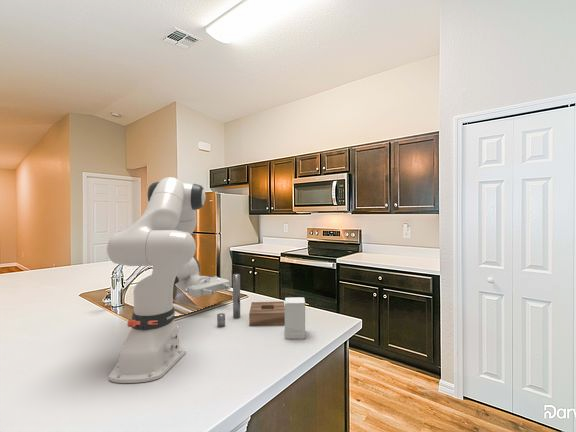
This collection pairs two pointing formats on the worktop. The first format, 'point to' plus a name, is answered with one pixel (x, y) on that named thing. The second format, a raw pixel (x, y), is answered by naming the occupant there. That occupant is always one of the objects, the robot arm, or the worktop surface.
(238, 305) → the long pin
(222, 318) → the short pin
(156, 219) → the robot arm
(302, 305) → the supplement box
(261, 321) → the collar block
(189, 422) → the worktop surface
